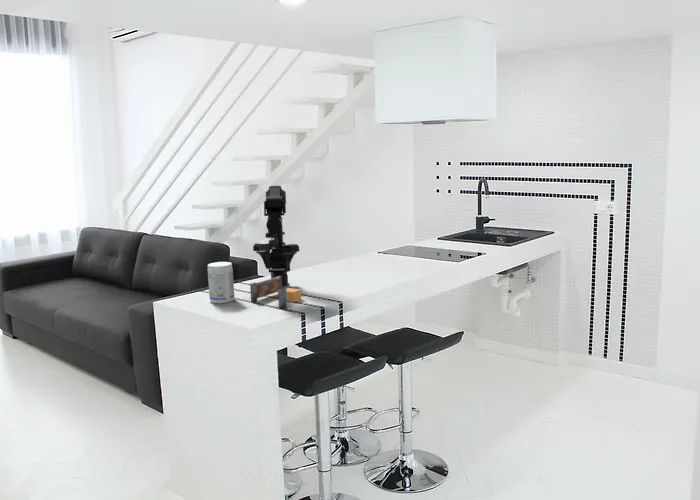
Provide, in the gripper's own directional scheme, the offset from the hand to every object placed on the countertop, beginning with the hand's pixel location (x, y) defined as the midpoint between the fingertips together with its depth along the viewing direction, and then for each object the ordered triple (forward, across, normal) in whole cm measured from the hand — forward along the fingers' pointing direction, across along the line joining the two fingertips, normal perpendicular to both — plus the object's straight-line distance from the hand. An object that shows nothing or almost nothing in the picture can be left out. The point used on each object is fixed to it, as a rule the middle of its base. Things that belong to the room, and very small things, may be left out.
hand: (276, 269), depth 256 cm
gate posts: (+12, +3, -10) cm, 16 cm away
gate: (+11, -5, 0) cm, 12 cm away
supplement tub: (+12, -17, -14) cm, 25 cm away
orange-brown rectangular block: (+12, +6, 0) cm, 13 cm away
